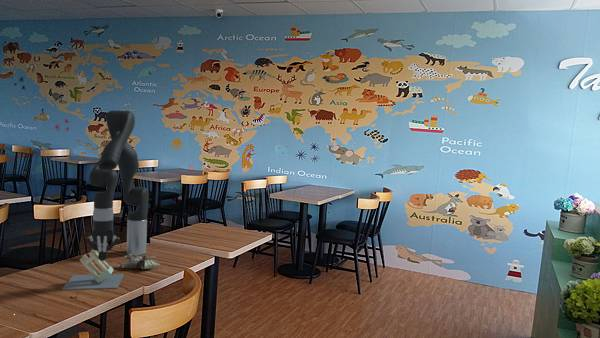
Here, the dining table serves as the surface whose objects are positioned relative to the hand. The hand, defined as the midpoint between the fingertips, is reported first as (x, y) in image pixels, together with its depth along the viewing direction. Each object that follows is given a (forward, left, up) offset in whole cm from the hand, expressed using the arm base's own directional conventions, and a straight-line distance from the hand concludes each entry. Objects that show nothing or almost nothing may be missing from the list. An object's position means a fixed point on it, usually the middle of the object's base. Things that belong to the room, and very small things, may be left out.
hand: (102, 260), depth 181 cm
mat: (0, -3, -9) cm, 9 cm away
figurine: (-18, +14, -10) cm, 24 cm away
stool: (0, +1, -7) cm, 7 cm away
